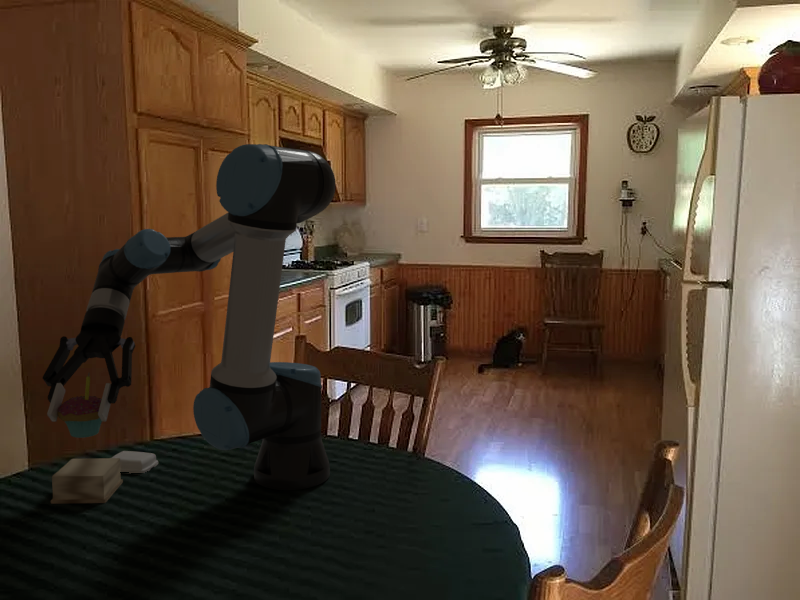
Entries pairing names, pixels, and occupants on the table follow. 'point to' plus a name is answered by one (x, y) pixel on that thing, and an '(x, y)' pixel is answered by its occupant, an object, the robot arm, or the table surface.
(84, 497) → the pedestal
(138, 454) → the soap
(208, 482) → the table surface
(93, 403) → the cupcake
